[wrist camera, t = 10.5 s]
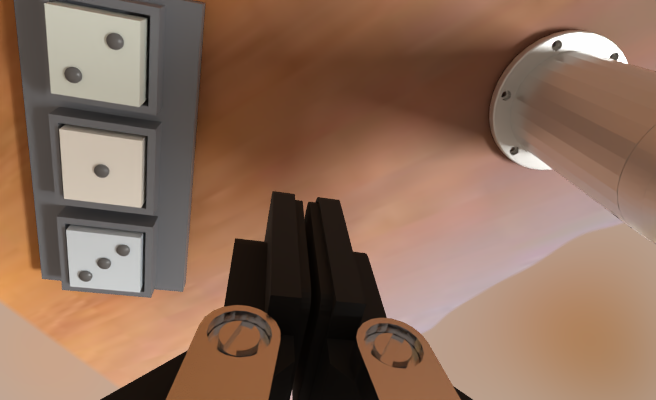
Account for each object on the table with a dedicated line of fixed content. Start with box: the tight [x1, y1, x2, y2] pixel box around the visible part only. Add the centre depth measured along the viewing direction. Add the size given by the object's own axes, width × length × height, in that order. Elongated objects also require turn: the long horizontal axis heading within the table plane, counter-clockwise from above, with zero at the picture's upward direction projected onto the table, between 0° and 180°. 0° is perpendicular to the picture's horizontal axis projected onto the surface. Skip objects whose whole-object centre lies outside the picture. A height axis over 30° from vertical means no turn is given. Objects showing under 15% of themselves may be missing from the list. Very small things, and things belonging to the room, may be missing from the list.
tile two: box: [44, 1, 148, 107], centre depth 32 cm, size 6×6×2 cm
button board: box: [14, 0, 205, 298], centre depth 38 cm, size 13×27×4 cm, turn 169°
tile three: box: [66, 224, 146, 293], centre depth 41 cm, size 6×6×2 cm
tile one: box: [59, 124, 148, 208], centre depth 37 cm, size 6×6×2 cm
